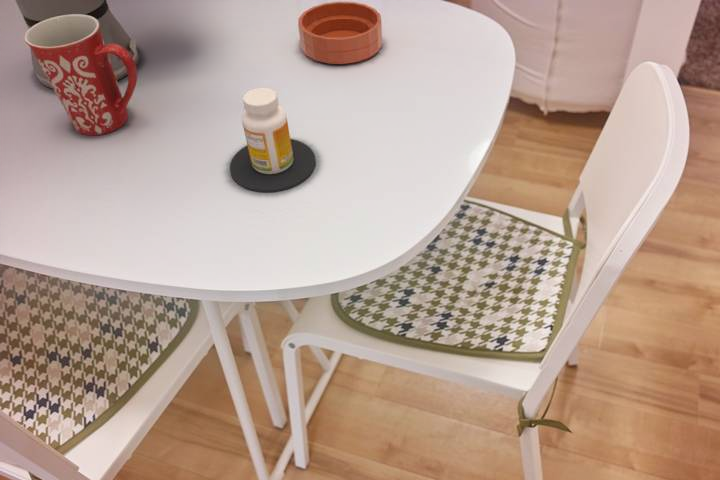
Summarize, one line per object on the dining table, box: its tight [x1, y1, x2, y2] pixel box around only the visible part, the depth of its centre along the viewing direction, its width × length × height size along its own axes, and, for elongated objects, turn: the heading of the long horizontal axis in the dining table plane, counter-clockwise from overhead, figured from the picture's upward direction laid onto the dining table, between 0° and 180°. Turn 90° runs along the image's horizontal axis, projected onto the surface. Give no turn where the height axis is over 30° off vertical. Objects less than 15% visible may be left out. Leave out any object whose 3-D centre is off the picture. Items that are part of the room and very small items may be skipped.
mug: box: [23, 14, 138, 136], centre depth 81 cm, size 13×9×14 cm
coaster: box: [229, 138, 317, 193], centre depth 79 cm, size 11×11×1 cm
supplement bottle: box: [241, 87, 293, 174], centre depth 76 cm, size 5×5×10 cm
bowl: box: [297, 1, 383, 65], centre depth 99 cm, size 13×13×4 cm
